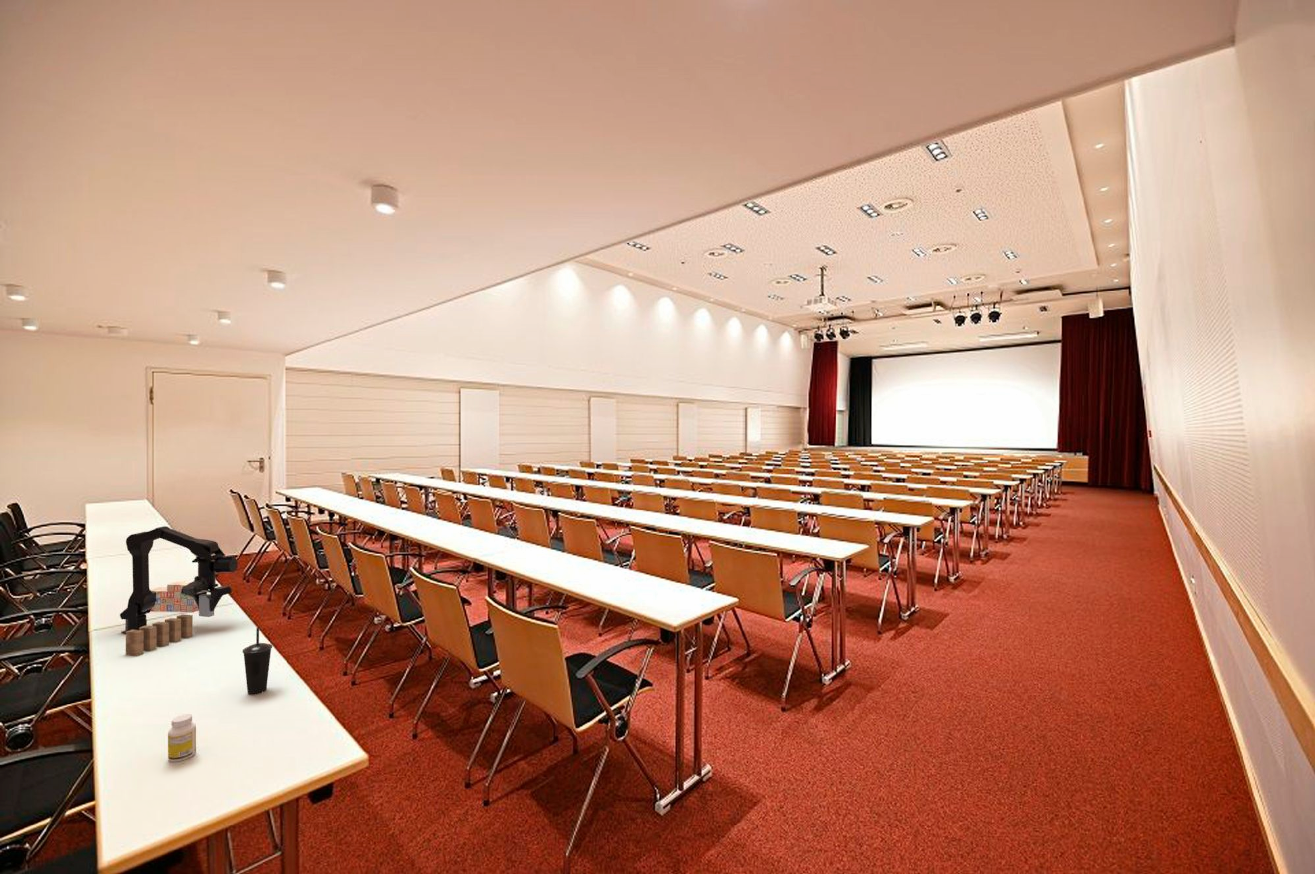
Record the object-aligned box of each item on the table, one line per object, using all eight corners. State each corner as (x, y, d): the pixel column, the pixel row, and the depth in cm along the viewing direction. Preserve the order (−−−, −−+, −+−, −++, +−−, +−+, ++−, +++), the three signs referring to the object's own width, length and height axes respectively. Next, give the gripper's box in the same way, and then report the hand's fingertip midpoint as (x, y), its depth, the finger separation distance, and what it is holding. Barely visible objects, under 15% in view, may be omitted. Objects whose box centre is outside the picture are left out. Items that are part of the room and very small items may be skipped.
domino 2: (139, 650, 210) (139, 627, 210) (145, 648, 213) (145, 625, 212) (150, 651, 209) (150, 628, 209) (156, 649, 212) (156, 626, 212)
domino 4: (164, 641, 219) (164, 619, 219) (170, 639, 221) (170, 617, 221) (175, 642, 218) (175, 620, 218) (180, 640, 220) (181, 618, 220)
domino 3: (152, 646, 215) (152, 623, 215) (158, 643, 217) (158, 621, 217) (162, 647, 214) (163, 624, 214) (168, 645, 216) (169, 622, 216)
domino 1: (125, 655, 206) (125, 631, 206) (132, 652, 208) (132, 629, 208) (136, 656, 205) (136, 632, 205) (143, 654, 207) (143, 630, 207)
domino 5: (176, 637, 224) (176, 616, 224) (182, 635, 226) (182, 614, 226) (186, 638, 223) (187, 617, 223) (192, 636, 225) (192, 615, 225)
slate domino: (198, 616, 232) (199, 595, 232) (204, 614, 235) (204, 593, 235) (209, 617, 232) (209, 596, 231) (214, 615, 234) (214, 594, 234)
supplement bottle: (178, 750, 146) (178, 712, 145) (201, 750, 146) (201, 712, 146) (162, 763, 140) (162, 723, 140) (185, 762, 141) (185, 722, 141)
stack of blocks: (146, 611, 255) (146, 584, 255) (159, 607, 261) (159, 580, 261) (193, 612, 255) (193, 585, 255) (204, 608, 261) (205, 581, 261)
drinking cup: (277, 688, 181) (278, 625, 181) (253, 698, 174) (254, 633, 174) (260, 684, 184) (261, 622, 184) (236, 694, 177) (236, 630, 176)
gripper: (167, 576, 227) (167, 615, 227) (206, 579, 223) (206, 618, 223) (195, 569, 238) (195, 606, 238) (233, 572, 234) (232, 610, 234)
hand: (206, 610), depth 233 cm, fingers closed on slate domino, 5 cm apart
